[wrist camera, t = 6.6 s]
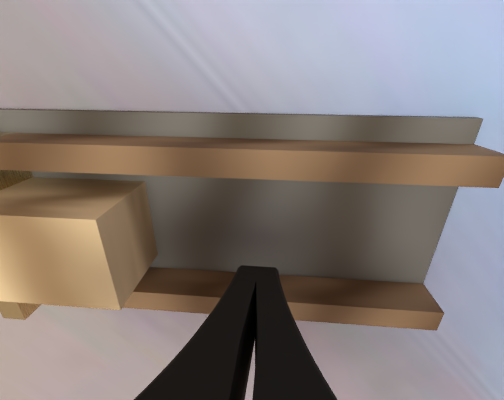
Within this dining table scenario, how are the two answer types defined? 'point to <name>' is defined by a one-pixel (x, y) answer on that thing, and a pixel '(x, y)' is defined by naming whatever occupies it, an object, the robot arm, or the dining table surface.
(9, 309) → the end stop
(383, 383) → the dining table surface
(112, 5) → the dining table surface
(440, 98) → the dining table surface
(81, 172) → the channel
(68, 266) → the block
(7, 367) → the dining table surface
